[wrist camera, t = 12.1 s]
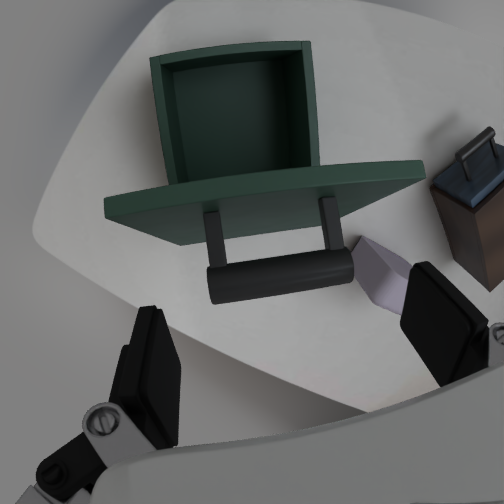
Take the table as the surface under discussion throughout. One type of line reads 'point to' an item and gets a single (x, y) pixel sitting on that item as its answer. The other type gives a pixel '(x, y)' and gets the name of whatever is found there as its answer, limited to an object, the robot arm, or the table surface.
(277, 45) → the chest
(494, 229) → the cabinet
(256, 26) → the table surface
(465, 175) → the drawer
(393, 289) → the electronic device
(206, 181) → the chest lid
